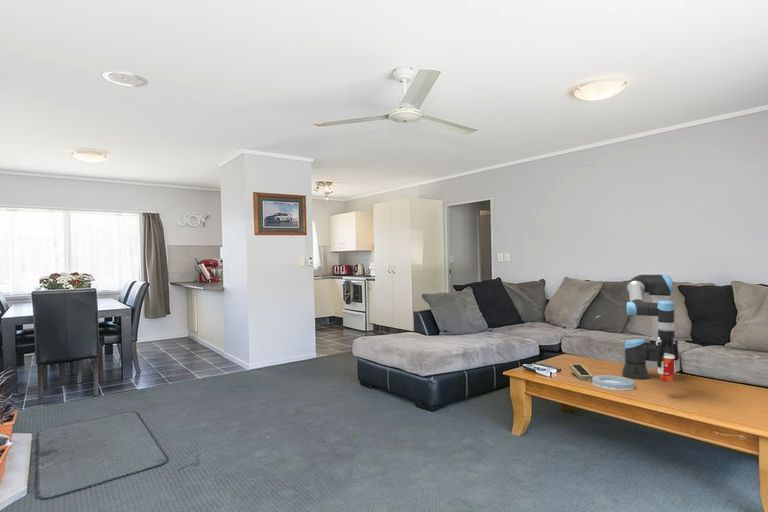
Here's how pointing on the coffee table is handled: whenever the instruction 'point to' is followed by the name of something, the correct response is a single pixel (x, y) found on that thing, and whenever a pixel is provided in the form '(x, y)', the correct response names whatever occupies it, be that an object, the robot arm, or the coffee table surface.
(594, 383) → the ring tray
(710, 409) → the coffee table surface
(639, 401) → the coffee table surface
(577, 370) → the box
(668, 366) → the paper cup
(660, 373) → the robot arm
